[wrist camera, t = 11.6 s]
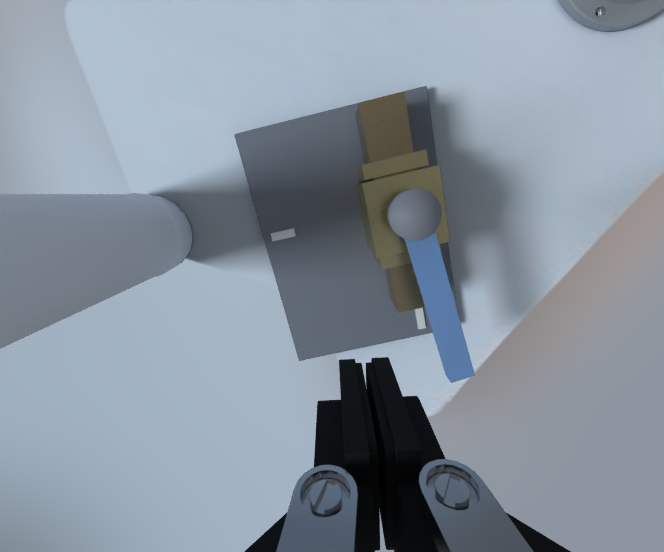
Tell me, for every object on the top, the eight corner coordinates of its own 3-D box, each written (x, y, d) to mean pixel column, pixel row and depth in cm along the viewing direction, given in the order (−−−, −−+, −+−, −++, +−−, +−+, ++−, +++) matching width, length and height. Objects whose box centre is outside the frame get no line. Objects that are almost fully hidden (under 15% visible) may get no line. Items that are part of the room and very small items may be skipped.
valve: (403, 106, 29) (432, 72, 21) (431, 285, 34) (464, 314, 26) (341, 121, 30) (345, 94, 21) (377, 297, 34) (392, 329, 26)
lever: (381, 199, 23) (384, 199, 22) (428, 181, 23) (434, 181, 21) (436, 377, 27) (442, 387, 25) (477, 364, 26) (485, 373, 25)
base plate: (423, 89, 29) (427, 85, 28) (455, 323, 35) (460, 327, 34) (237, 136, 30) (233, 133, 29) (299, 356, 36) (298, 361, 35)
